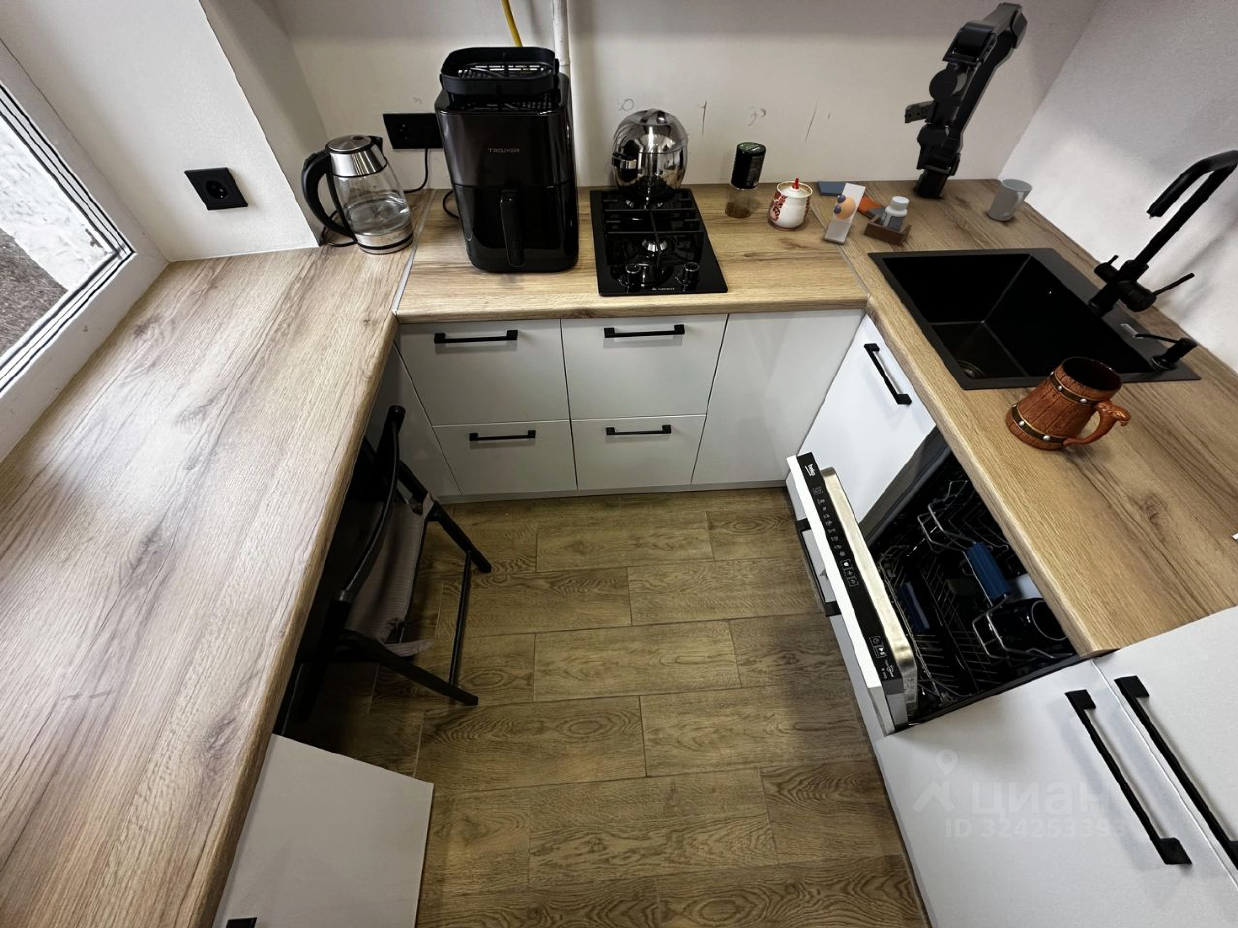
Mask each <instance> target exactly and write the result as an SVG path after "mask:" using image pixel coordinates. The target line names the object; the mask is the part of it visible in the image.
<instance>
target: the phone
mask: <svg viewBox="0 0 1238 928" xmlns="http://www.w3.org/2000/svg"><path fill="white" fill-rule="evenodd" d="M885 209H886V208H885V207H883V206H882V205H880V204H879V203H877V202H876V201H873V200H872V199H871V198H869V197H868V196H863V198H861V201H860V203H859V206H858V208H857V211H859V212H860V213H862V215H865V216H866V217H868V218H869V219H871V220H872V219H873V218H874V217H875V216H876V215H881V216H880V219H879V221H878V225H879V224H880V222H881V219H882V216H883V214H884V211H885Z"/></svg>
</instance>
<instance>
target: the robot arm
mask: <svg viewBox="0 0 1238 928" xmlns="http://www.w3.org/2000/svg"><path fill="white" fill-rule="evenodd" d="M1023 8H1024V6H1023V5H1021V4H1020V3H1016V2H1008V1H1003V2H999V3H998V5H997V6H996V8H995V9H993V11H992V12H990V13H989V14H987V15H986V16H985V17H984V18H982V19H973V20H969V21H966V22H965V24H964V25H963V26H961V27H960V28H959V29H958V30H957V32H956V34H955V36H954V38H953V40H952V41H951V43H950V45H949V47H948V48H947V50H946V52H945V53H944V56H943V57H942V58H941V59H942V60H941V61H942V62H944V63H947V64H946V66H945V68H943V69H942V70H939V71H938V72H936V73H935V74H934V76H933V77H932V78H931V80H930V82H929V84H928V93H929V96H930V97H931V98H932V100H926V101H921V102H915V103H911V104H908V105H907V106H906V107H905V110H904V115H903V116H904V124H907V125H908V124H911V123H912V122H918V121H923V120H924V123H925V124H924V125H923V126H921V128H920V129H919V132H918V135H917V136H916V142H917V144H918V145H919V147H920V148H919V149H920V150H919V152H918V153H919V154H918V160H917V163H916V167H915V169H916V170H917V171H921V170H923V172H922V173H921V174H919V176H918V179H917V181H916V184H915V185H914V187H913V189H914V190H915V192H916V194H917V196H918V197H921V198H933V199H934V198H936V199H937V198H938V199H941V198H943V195H942V192H943V189H944V187H945V186H946V183H947V182H948V179H949V178H950V177H955V176H956V174H957V171H958V170H959V166H960V163H961V156H962V153H961V152H962V150H963V148H964V133H965V131H966V129H967V127H968V126H969V124H970V122H971V120H972V117H973V116H974V115H975V112H976V110H977V108H978V107H979V104H980V102H981V100H982V99H983V98H984V97H983V96H984V94H985V93H986V91H987V89H988V87H989V85H990V83H991V82H992V79H993V77H994V76H995V74H996V72H997V70H998V69H999V68H1000V67H1001V66H1003V64H1005V63H1006V62H1007V61H1008V60H1009V59H1011V57H1012V55H1013V53H1014V52H1015V51H1016V50H1017V49H1018V48H1019V47H1020V45H1021V44H1022V42H1023V39H1024V38H1025V36H1026V32H1027V27H1028V20H1027V18H1026V17H1025V15H1024V14H1023Z"/></svg>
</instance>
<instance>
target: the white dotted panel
mask: <svg viewBox="0 0 1238 928" xmlns="http://www.w3.org/2000/svg"><path fill="white" fill-rule="evenodd" d="M845 183H846V185H845V188H844V190H843V193H842V195H840V196H837V199H836V202H835V204H834V207H833V209H832V218H831V220H830V223H829V226H828V228H827V231H826V233H825V235H824V240H825V241H829V242H833V243H838V244H842V245H844V243H845V240H846V238H847V235H848V233H849V231H850V229H851V226H852V224H853V221H854V219H855V216H856V214H857V211H858V210H857V208H858V206H859V203H860V201H861V198H862V196H863V197H864V193H865V191H866V187H867V186H863V185H860V184H859V185H854V184H850V183H851V182H845Z"/></svg>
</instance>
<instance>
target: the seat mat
mask: <svg viewBox="0 0 1238 928" xmlns="http://www.w3.org/2000/svg"><path fill="white" fill-rule="evenodd" d="M846 183H847V182H841V181H840V182H839V181H823V180H817V183H816V185H817V187H818V190H819V194H820V196H833V197H838V196H840V195H842V193H843V190H844V188H845V185H846ZM849 183H850V184H854V185H859V186H860V184H859V182H858V183H857V182H856V183H855V182H849ZM863 197H864V195H863V196H862V198H863Z"/></svg>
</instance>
